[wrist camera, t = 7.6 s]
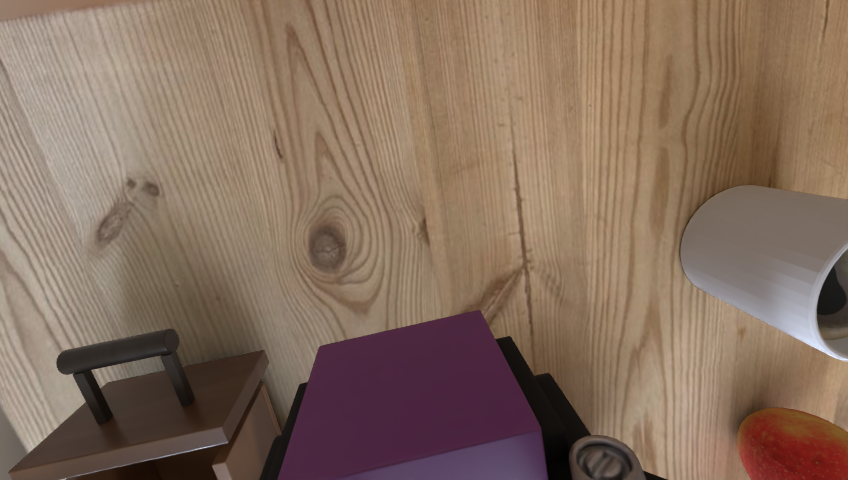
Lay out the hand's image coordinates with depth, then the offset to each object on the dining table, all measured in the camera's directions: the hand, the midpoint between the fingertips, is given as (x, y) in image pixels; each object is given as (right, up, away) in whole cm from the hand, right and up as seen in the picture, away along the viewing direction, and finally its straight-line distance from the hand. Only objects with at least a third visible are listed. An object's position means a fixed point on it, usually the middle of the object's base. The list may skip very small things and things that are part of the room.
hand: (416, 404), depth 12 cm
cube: (0, 0, 0) cm, 0 cm away
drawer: (-16, -8, +18) cm, 26 cm away
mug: (+25, +4, +19) cm, 32 cm away
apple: (+30, -12, +24) cm, 41 cm away
